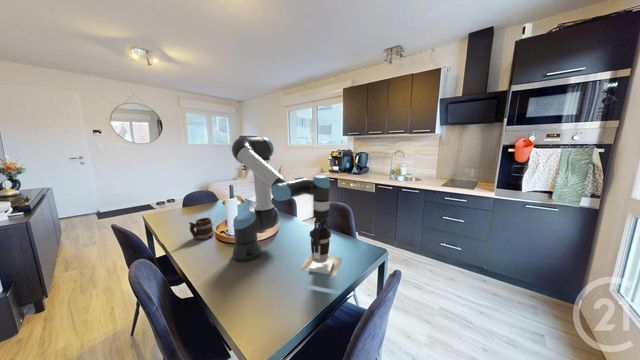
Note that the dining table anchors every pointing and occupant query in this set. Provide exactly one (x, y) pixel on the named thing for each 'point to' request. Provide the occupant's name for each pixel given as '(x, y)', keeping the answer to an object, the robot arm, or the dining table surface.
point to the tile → (322, 267)
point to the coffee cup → (321, 245)
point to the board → (336, 259)
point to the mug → (202, 228)
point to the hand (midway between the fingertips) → (321, 251)
